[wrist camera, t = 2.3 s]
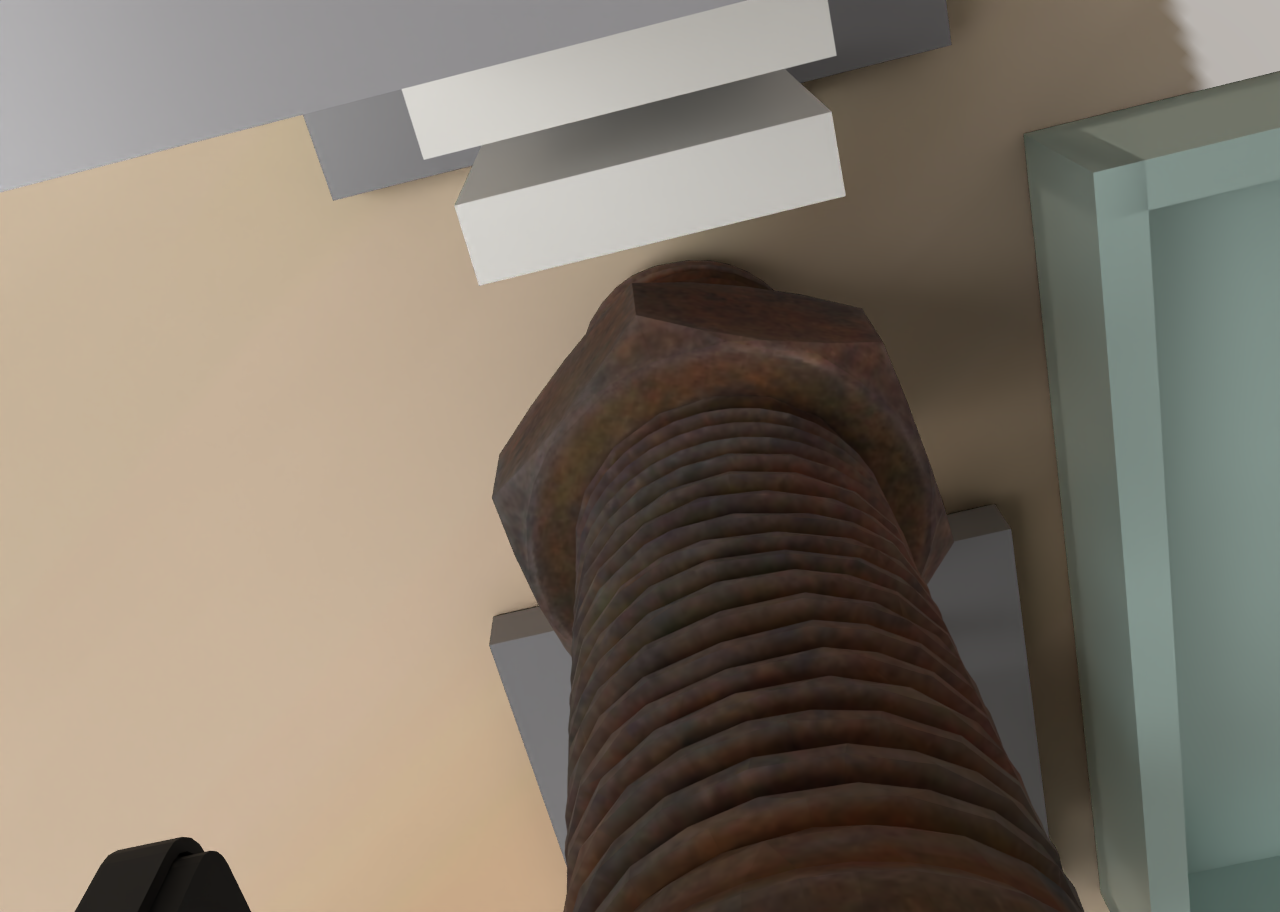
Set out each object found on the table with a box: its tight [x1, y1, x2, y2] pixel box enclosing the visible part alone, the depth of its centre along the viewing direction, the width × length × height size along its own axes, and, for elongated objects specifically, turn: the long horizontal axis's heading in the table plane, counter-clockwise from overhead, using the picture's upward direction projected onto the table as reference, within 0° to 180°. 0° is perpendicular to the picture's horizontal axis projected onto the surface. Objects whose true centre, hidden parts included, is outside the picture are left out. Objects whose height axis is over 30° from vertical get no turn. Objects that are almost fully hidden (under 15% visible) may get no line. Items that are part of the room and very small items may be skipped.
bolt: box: [492, 261, 1084, 912], centre depth 11 cm, size 6×5×15 cm
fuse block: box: [0, 0, 1049, 865], centre depth 12 cm, size 23×8×12 cm, turn 14°
